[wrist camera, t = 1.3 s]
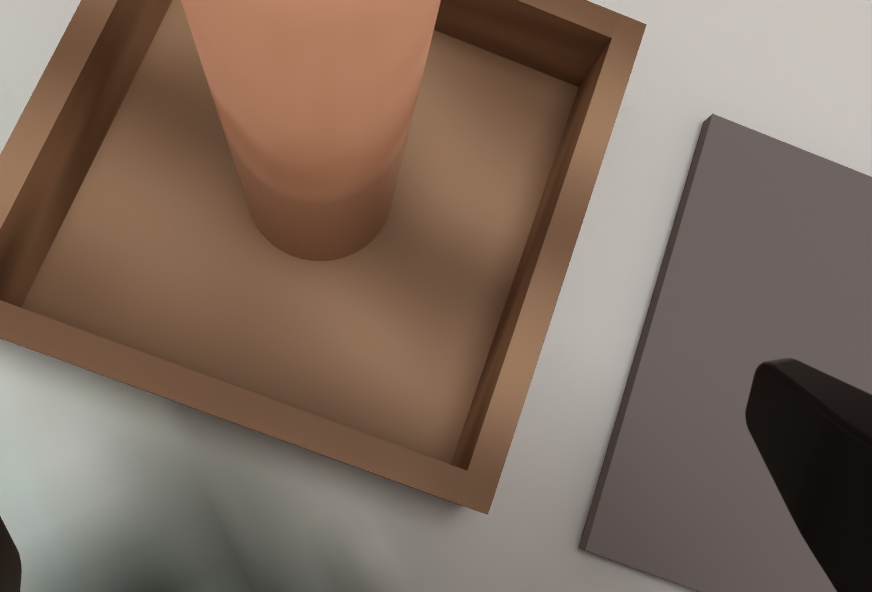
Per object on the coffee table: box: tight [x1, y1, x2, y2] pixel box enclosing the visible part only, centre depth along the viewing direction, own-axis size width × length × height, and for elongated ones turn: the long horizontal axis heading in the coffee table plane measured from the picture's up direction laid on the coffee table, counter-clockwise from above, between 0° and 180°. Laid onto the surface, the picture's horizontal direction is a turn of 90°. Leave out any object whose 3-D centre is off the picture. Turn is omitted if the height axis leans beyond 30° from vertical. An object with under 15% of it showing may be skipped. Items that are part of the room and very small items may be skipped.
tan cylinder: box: [181, 0, 441, 261], centre depth 17 cm, size 4×4×12 cm
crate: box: [0, 0, 646, 514], centre depth 22 cm, size 14×14×4 cm
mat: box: [579, 114, 872, 592], centre depth 24 cm, size 14×11×1 cm
